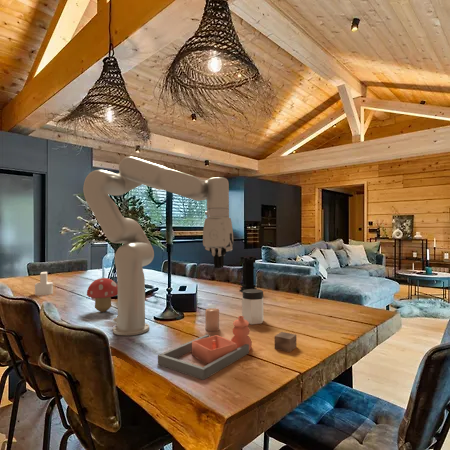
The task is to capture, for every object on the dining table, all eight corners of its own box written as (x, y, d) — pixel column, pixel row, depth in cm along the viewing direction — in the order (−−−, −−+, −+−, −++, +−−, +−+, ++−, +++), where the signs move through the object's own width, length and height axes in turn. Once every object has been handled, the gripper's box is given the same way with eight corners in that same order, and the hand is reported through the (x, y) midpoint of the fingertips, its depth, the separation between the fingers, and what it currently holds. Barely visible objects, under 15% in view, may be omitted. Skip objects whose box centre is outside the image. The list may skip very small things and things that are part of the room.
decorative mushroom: (105, 306, 155) (105, 275, 155) (125, 310, 148) (125, 277, 148) (80, 313, 144) (80, 278, 144) (100, 317, 137) (100, 281, 137)
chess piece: (239, 291, 192) (239, 256, 193) (252, 290, 195) (251, 256, 195) (244, 293, 185) (244, 257, 185) (257, 292, 187) (257, 257, 187)
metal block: (274, 349, 100) (274, 336, 100) (281, 344, 105) (281, 331, 105) (289, 352, 98) (289, 339, 98) (296, 347, 102) (296, 334, 102)
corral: (157, 364, 89) (157, 355, 89) (206, 342, 106) (206, 334, 106) (203, 379, 80) (203, 369, 80) (248, 353, 97) (248, 344, 97)
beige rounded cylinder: (202, 329, 120) (202, 310, 120) (211, 326, 124) (211, 307, 124) (213, 332, 117) (213, 312, 117) (221, 328, 121) (221, 309, 121)
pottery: (210, 366, 88) (210, 329, 88) (192, 355, 96) (191, 321, 96) (259, 351, 99) (259, 318, 99) (239, 342, 107) (239, 312, 107)
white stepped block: (35, 293, 190) (35, 272, 190) (53, 291, 193) (53, 271, 193) (33, 296, 181) (33, 274, 181) (52, 294, 185) (52, 273, 185)
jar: (268, 321, 130) (268, 290, 130) (255, 325, 124) (255, 293, 124) (250, 317, 136) (250, 288, 136) (237, 321, 130) (237, 290, 130)
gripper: (194, 214, 114) (194, 267, 114) (230, 213, 106) (231, 270, 106) (207, 215, 120) (207, 265, 120) (242, 213, 112) (243, 267, 112)
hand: (218, 267), depth 113 cm, fingers closed
